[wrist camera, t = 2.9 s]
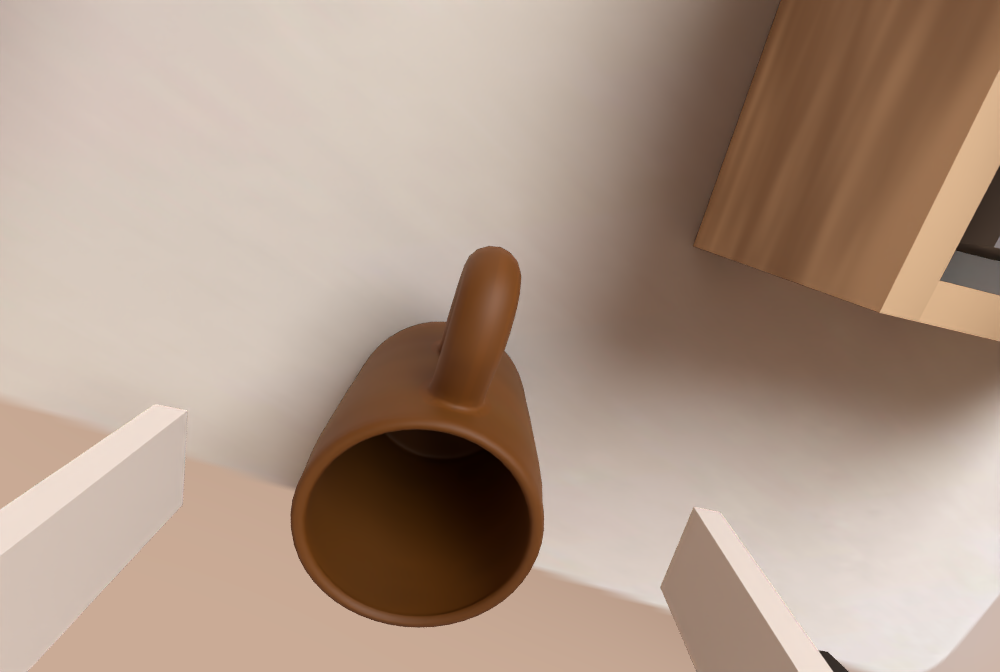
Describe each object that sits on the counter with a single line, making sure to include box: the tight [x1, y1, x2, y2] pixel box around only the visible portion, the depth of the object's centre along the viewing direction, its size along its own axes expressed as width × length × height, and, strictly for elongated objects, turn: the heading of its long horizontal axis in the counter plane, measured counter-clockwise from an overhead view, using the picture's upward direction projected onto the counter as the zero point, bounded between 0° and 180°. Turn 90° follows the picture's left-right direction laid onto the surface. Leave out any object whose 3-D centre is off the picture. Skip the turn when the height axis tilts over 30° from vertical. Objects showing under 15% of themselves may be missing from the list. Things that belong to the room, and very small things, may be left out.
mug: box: [291, 246, 544, 627], centre depth 18 cm, size 12×8×9 cm, turn 163°
